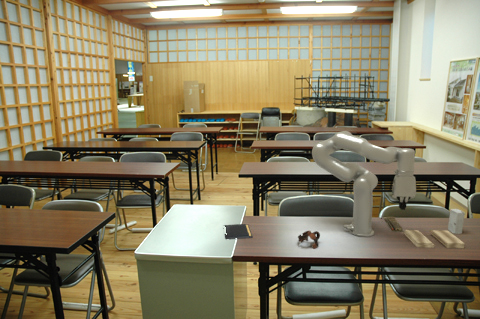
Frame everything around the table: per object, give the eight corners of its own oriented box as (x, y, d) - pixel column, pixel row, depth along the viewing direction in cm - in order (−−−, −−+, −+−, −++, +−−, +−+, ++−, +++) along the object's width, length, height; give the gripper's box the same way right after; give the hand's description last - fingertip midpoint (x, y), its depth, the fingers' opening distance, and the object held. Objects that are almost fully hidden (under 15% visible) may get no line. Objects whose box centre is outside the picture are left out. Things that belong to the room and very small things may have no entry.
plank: (417, 247, 172) (417, 242, 172) (404, 234, 188) (404, 230, 188) (434, 247, 172) (434, 243, 171) (420, 234, 188) (420, 230, 187)
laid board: (445, 247, 172) (445, 242, 171) (429, 234, 187) (430, 230, 187) (464, 248, 171) (464, 243, 170) (447, 234, 187) (447, 230, 186)
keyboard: (405, 233, 191) (405, 230, 190) (387, 232, 192) (387, 229, 192) (395, 219, 212) (395, 215, 211) (379, 218, 213) (379, 215, 213)
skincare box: (447, 229, 193) (449, 208, 191) (455, 229, 193) (457, 208, 191) (454, 234, 187) (456, 212, 185) (462, 234, 187) (465, 212, 185)
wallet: (223, 223, 204) (249, 222, 205) (223, 226, 205) (249, 225, 206) (224, 237, 185) (253, 236, 186) (224, 240, 185) (253, 239, 186)
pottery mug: (311, 252, 170) (303, 236, 171) (300, 253, 178) (292, 238, 179) (327, 240, 176) (319, 225, 177) (316, 241, 184) (308, 227, 185)
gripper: (392, 175, 171) (389, 211, 174) (423, 175, 170) (420, 211, 173) (386, 171, 178) (384, 206, 181) (417, 171, 177) (414, 206, 180)
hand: (402, 208), depth 177 cm, fingers closed
